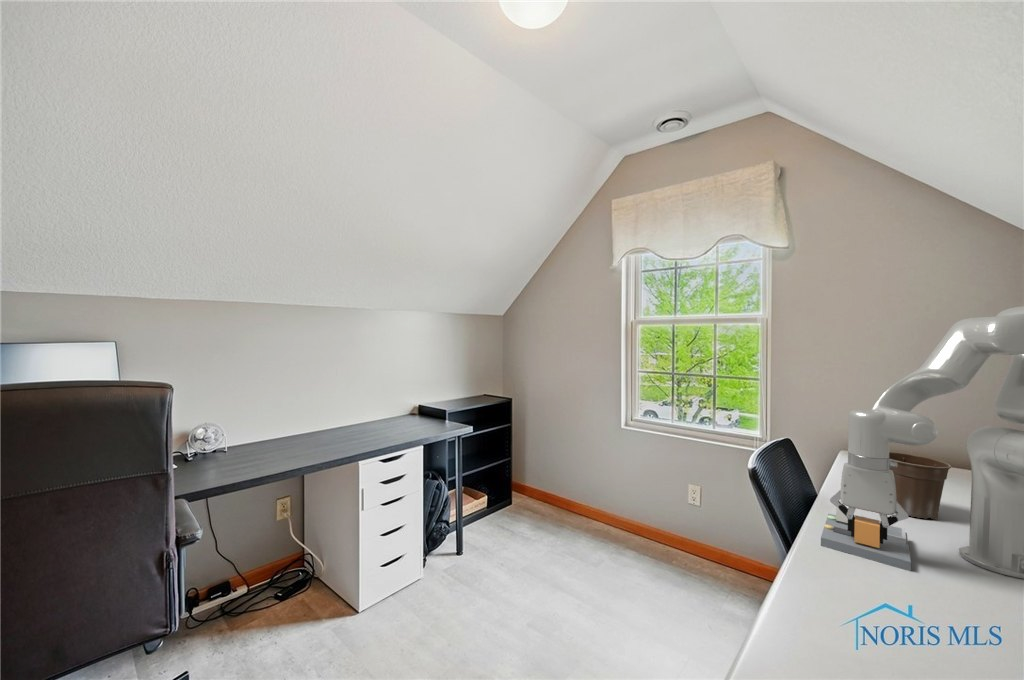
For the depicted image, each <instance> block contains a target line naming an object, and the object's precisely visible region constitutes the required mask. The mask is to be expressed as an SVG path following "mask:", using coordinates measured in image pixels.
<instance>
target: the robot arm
mask: <svg viewBox="0 0 1024 680" xmlns="http://www.w3.org/2000/svg"><path fill="white" fill-rule="evenodd" d="M992 355H996V356H997V355H1000V356H1001V355H1004V356H1007V355H1008V356H1010V357H1011V360H1010V365H1009V368H1008V370H1007V373H1006V374H1005V377H1004V380H1003V382H1002V383H1001V386H1000V388H999V390H998V393H997V395H996V397H995V400H994V403H993V410H994V413H995V415H997V417H998V418H1000V419H1002V420H1003V421H1006V422H1009V423H1012V424H1016V425H1021V426H1024V305H1020V306H1015V307H1010V308H1007V309H1004V310H1002V311H1000V312H998V313H997V314H996V316H983V317H982V316H980V317H978V316H977V317H969V318H964V319H961V320H959V321H956V322H955V323H954V324H953V325H952V326H951V327H950V328H949V329H948V330H947V332H946V333H945V335H944V336H943V337H942V339H941V340H940V341H939V343H937V346H935V348H934V349H933V350H932V352H931V353H930V354H929V355H928V357H927V358H926V360H925V361H924V362H923V363H922V365H921V366H920V367H919V368H918V369H916V370H915V371H913V372H911V373H910V374H907V375H906V376H904V377H902V378H901V379H900V380H898V381H897V382H895V383H894V384H892V385H891V386H890V387H888V388H887V389H886V390H885V391H884V392H883V393H882V394H881V395H880V396H879V398H878V399H877V400H876V402H875V403H874V404H873V406H872V407H871V408H870V409H853V410H851V411H850V412H849V414H848V424H847V425H848V427H847V429H848V432H847V433H848V435H847V462H845V463H844V464H843V466H842V467H843V468H842V471H841V480H840V481H841V482H840V490H838V491H837V492H836V493H835V494H834V495H833V496H832V497H830V499H829V502H830V503H831V504H833V506H835V507H838V508H839V509H840V511H841V512H842V513H843V514H844V515H845V516H846V517H847V518H848V531H851V536H853V537H854V531H855V512H856V509H858V510H861V511H866V512H870V513H871V512H872V513H876V514H878V515H879V519H880V520H879V521H880V543H881V544H883V539H884V540H887V528H888V527H889V526H890V525H892V526H893V525H894V524H896V523H898V522H900V521H905V520H907V519H909V516H908V514H907V513H906V512H905V510H904V509H903V508H902V507H901V505H900V504H899V503H898V502H897V501H896V485H895V478H894V473H893V471H892V470H890V469H889V468H891V467H897V462H896V461H893V460H891V459H889V452H890V444H891V443H893V444H894V443H895V444H899V445H907V446H912V447H913V446H914V447H918V446H919V447H920V446H926V445H930V444H931V443H933V442H934V441H935V440H936V438H937V437H938V436H939V435H938V434H939V430H938V426H937V425H936V423H935V422H934V421H933V420H932V419H930V418H929V417H927V416H925V415H923V414H920V413H915V412H912V410H913V409H914V408H916V407H917V406H918V405H919V404H921V403H922V402H924V401H926V400H929V399H932V398H935V397H938V396H942V395H946V394H951V393H954V392H957V391H960V390H963V389H964V388H966V387H967V386H968V385H969V384H970V382H971V381H972V379H973V378H974V377H975V376H976V375H977V373H978V372H979V370H981V368H982V367H983V365H984V364H985V363H986V361H988V359H989V358H990V357H991V356H992ZM966 449H967V454H968V455H967V456H968V459H969V464H970V468H971V470H970V471H971V473H970V474H971V492H970V510H969V511H970V513H969V518H970V519H969V535H968V536H969V539H968V546H967V545H966V546H961V547H960V548H959V552H958V553H959V556H960V557H961V558H964V560H965V561H967V562H969V563H972V565H975V566H978V567H980V568H983V569H986V570H988V571H991V572H994V573H998V574H1000V575H1004V576H1005V575H1006V576H1008V577H1013V578H1018V579H1023V580H1024V430H1021V429H1016V428H1011V427H1004V426H998V425H994V426H993V425H988V426H982V427H979V428H976V429H975V430H973V431H972V432H971V433H970V434H969V436H968V438H967V440H966ZM846 506H847V507H849V508H847V507H846ZM896 511H897V512H898V513H896Z"/></svg>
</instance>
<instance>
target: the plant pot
mask: <svg viewBox="0 0 1024 680" xmlns="http://www.w3.org/2000/svg"><path fill="white" fill-rule="evenodd" d="M889 459H891V460H893V461H896V462H897V467H891V468H889V469H890V470H892V471H893V473H894V478H895V485H896V501H897V502H898V503H899V504H900V505H901V507H902V508H903V509H904V510H905V512H906V513H907V514H908V517H909V516H911V517H910V518H913V517H917V518H916V519H920V518H924V519H923V520H927V519H929V518H931V519H930V520H932V519H933V520H936V519H935V518H937V519H938V518H939V517H938V516H939V511H940V505H941V500H942V495H943V490H944V486H945V481H946V480H947V478H948V473H949V470H950V469H951V468H952V465H951V464H950V463H947V462H944V461H942V460H939V459H936V458H931V457H926V456H922V455H916V454H911V453H906V452H905V453H904V452H896V451H889ZM895 514H898V512H897V511H896V512H895Z"/></svg>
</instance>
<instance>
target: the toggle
mask: <svg viewBox="0 0 1024 680" xmlns="http://www.w3.org/2000/svg"><path fill="white" fill-rule="evenodd" d="M845 506H846V505H845ZM835 507H836V506H835ZM846 507H847V508H849V507H848V506H846ZM835 511H836V513H835V515H836V520H837V521H841V522H845V523H848V518H847V517H846V516H845V515H844V514H843V513H842V512H841V511H840V509H839V508H838V507H836V510H835Z"/></svg>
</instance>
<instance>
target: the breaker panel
mask: <svg viewBox="0 0 1024 680" xmlns="http://www.w3.org/2000/svg"><path fill="white" fill-rule="evenodd" d="M822 529H823V530H822V532H821V535H820V546H821V547H825V548H828V549H832V550H836V551H839V552H843V553H845V554H849V555H853V556H856V557H860V558H863V559H867V560H871V561H874V562H878V563H881V564H883V565H888V566H892V567H895V568H898V569H901V570H905V571H908V572H911V570H912V567H911V565H912V561H911V553H910V547H909V539H908V534H907V532H906V528H904V527H900V526H895V525H893V524H892V525H890V526H889V527H888V528H887V540H884V539H883V544H881V543H880V544H879V548H877V547H873V546H869V545H865V544H861V543H857V542H854V537H853V536H851V531H848V523H845V522H841V521H837V520H836V514H832V513H828V514H827V518H826V520H825V523H824V527H823V528H822Z"/></svg>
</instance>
